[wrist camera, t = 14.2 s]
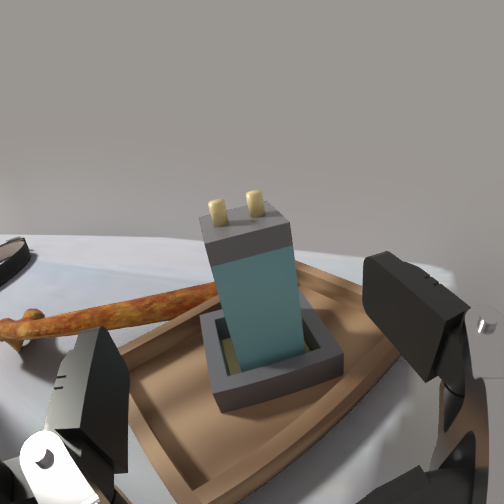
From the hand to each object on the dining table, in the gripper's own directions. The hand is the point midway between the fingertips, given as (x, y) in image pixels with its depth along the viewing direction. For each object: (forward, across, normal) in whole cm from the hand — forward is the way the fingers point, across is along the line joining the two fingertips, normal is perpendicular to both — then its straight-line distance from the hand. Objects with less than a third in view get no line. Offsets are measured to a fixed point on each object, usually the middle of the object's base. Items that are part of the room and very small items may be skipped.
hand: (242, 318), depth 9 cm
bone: (+20, +14, +15) cm, 29 cm away
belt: (+59, +60, +16) cm, 86 cm away
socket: (+11, -2, +13) cm, 18 cm away
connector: (+11, -2, +13) cm, 17 cm away
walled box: (+11, -1, +14) cm, 18 cm away
